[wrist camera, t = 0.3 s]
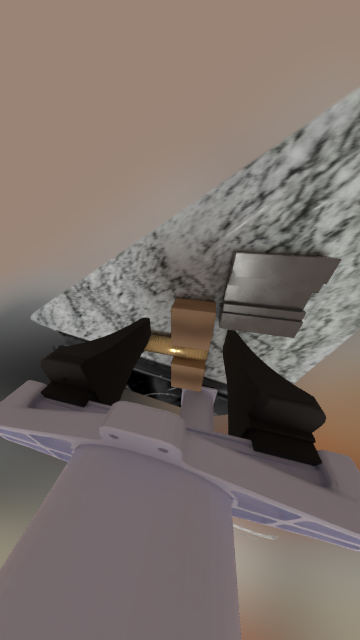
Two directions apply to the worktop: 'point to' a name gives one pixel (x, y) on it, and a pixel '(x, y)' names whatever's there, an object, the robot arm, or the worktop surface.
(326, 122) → the worktop surface
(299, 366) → the worktop surface
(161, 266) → the worktop surface
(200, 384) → the beam
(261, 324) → the v block
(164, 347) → the axle
